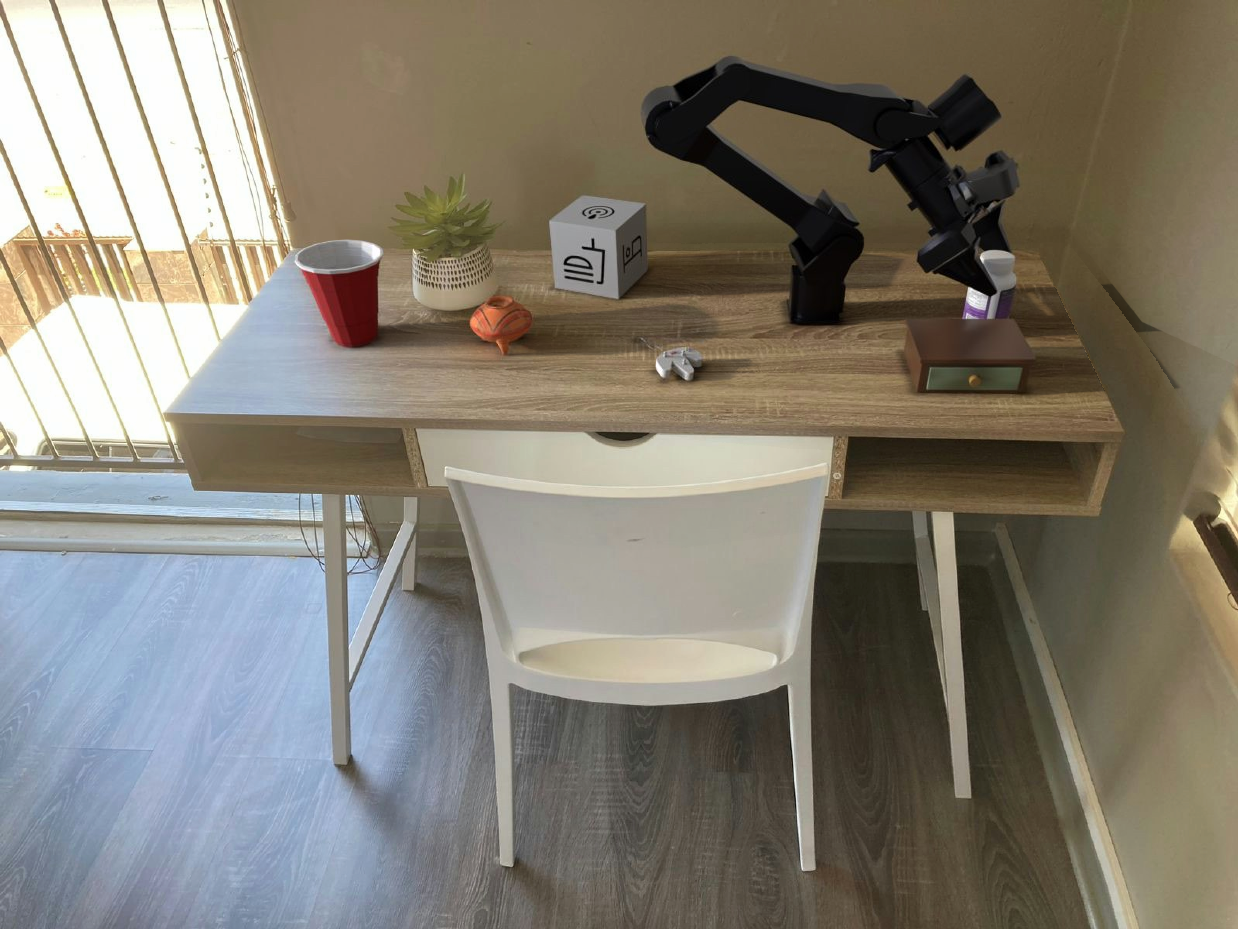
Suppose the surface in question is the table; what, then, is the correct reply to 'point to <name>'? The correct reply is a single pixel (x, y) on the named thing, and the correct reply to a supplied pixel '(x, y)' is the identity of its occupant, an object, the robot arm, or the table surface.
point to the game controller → (678, 362)
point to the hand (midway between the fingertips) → (1003, 279)
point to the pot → (501, 321)
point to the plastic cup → (344, 287)
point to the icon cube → (599, 246)
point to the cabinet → (967, 355)
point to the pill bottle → (1005, 282)
